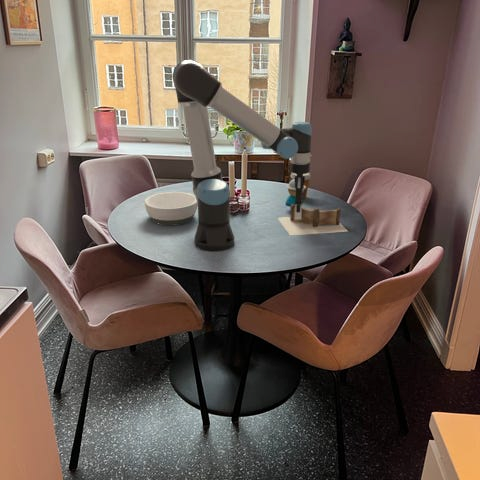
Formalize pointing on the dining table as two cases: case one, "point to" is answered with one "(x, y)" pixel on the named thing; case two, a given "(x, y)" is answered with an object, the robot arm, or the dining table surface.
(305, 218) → the fence gate
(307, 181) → the disposable coffee cup
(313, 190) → the dining table surface
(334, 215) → the fence fixed
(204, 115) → the robot arm
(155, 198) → the bowl
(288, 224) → the card
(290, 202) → the toy
